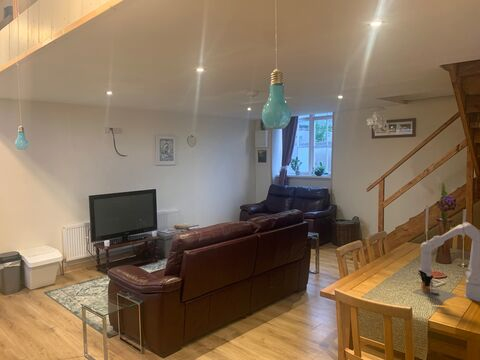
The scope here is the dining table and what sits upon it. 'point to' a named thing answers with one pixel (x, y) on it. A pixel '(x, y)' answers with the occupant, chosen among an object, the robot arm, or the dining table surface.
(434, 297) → the crank base
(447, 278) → the dining table surface
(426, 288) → the block
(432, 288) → the crank
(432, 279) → the tray
